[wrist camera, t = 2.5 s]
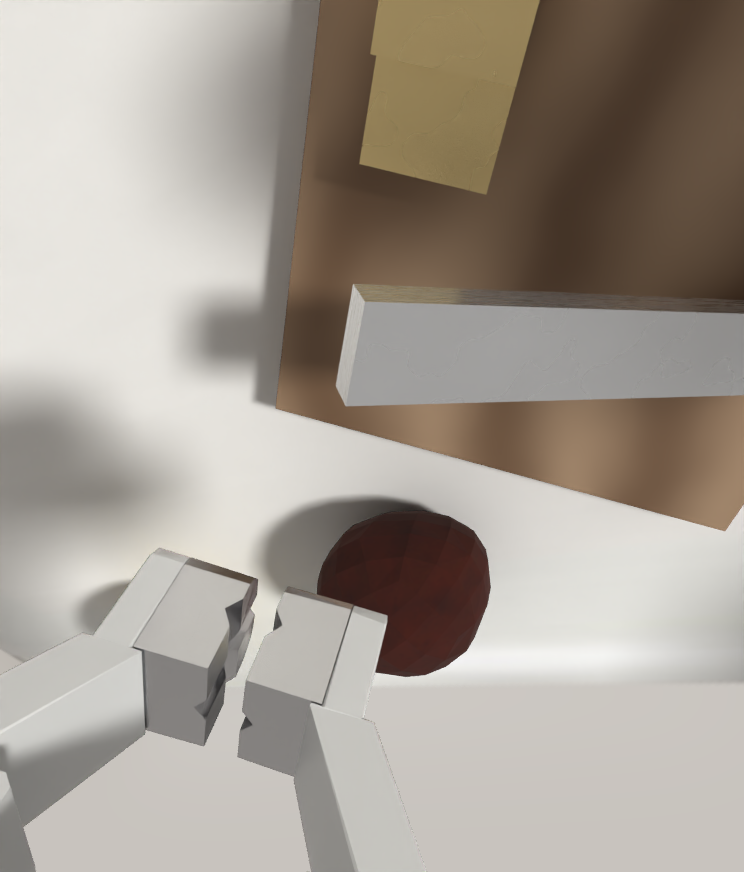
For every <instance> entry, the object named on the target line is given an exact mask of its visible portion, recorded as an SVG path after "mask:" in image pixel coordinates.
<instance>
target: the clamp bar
mask: <svg viewBox="0 0 744 872" xmlns="http://www.w3.org/2000/svg"><path fill="white" fill-rule="evenodd" d="M336 387H337V390H338V392H339V394H340V396H341V398H342V400H343V402H344V404H345V406H375V405H411V404H447V403H483V402H519V401H555V400H591V399H627V398H663V397H699V396H735V395H744V300H728V299H704V298H680V297H656V296H632V295H608V294H584V293H560V292H536V291H512V290H488V289H464V288H441V287H417V286H393V285H369V284H353V288H352V293H351V299H350V305H349V311H348V317H347V323H346V328H345V334H344V340H343V346H342V352H341V358H340V364H339V369H338V375H337V381H336Z"/></svg>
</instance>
